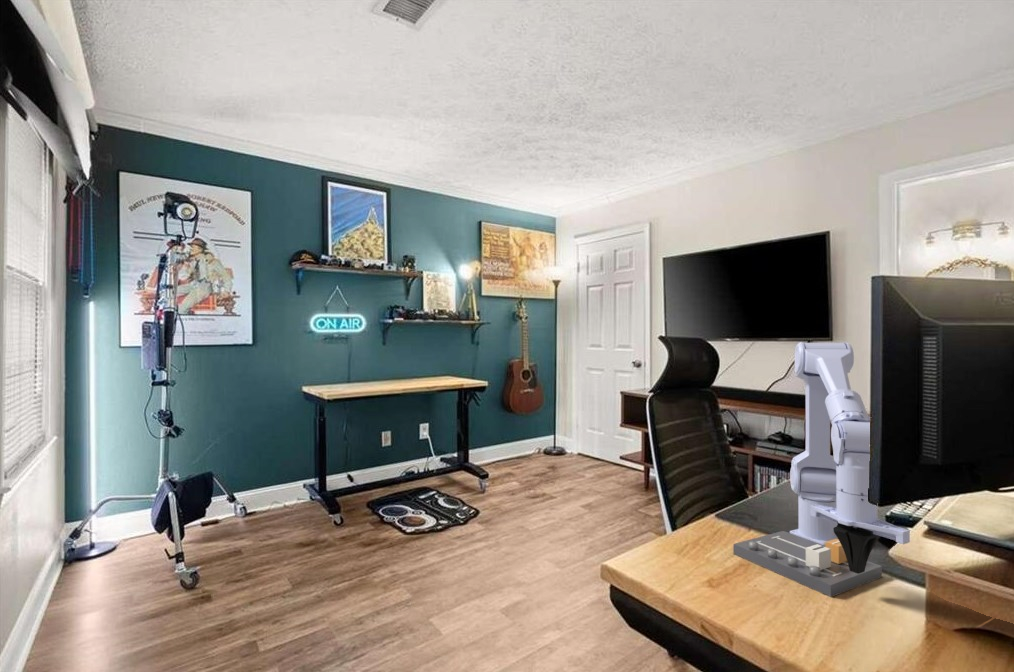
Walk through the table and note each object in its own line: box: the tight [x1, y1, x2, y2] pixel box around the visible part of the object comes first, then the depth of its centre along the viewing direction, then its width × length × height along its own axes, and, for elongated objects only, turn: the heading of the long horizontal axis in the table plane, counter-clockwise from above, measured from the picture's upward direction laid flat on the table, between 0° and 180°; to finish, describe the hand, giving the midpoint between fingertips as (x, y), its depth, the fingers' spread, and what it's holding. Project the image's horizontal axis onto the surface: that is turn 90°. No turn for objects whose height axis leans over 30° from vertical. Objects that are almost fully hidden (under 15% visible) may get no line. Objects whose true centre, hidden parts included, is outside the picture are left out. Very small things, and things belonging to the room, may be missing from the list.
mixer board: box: [732, 530, 883, 598], centre depth 95 cm, size 16×19×3 cm
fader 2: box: [824, 539, 847, 564], centre depth 92 cm, size 4×2×3 cm, turn 117°
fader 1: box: [806, 544, 831, 570], centre depth 89 cm, size 4×2×3 cm, turn 117°
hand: (857, 571), depth 83 cm, fingers closed
